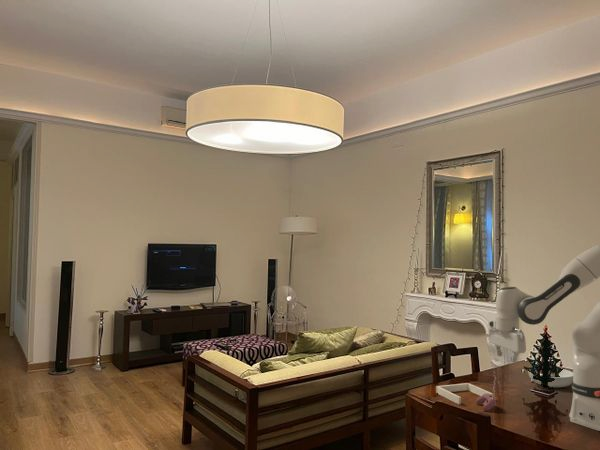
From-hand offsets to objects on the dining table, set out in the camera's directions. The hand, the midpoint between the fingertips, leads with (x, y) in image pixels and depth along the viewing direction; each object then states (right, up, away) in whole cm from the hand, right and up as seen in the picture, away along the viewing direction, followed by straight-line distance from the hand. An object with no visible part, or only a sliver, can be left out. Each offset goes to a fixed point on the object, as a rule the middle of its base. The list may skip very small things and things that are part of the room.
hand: (506, 358), depth 198 cm
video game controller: (-6, -23, +6) cm, 25 cm away
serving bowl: (+40, -25, +40) cm, 62 cm away
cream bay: (-10, -23, +21) cm, 33 cm away
